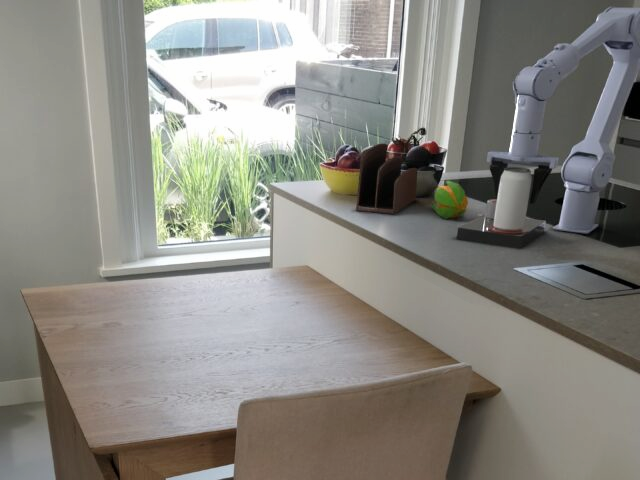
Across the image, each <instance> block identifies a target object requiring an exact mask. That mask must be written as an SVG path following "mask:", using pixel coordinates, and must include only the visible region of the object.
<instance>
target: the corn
mask: <svg viewBox="0 0 640 480" xmlns="http://www.w3.org/2000/svg"><path fill="white" fill-rule="evenodd" d="M445 183H446V184H447V185H440V186H439V187H437V189H436V191H435V193H434V201H436V204H437V205H436V204H435V203H433V201H430V204H431V207H432V208H433V210H434V211H435V212H436V213H437V215H439V216H440V217H441V218H443V219H445V220H446V219H449V218H454V219H457V218H459V217H461V216H463V215H464V214H465V213H466V212H467V207H468V206H469V201H468V197H467V195H466V194H465V193H466V191H465V190H464V189H463V187H462V186H461V185H460V184H459V183H457V182H455V181H451V180H446V181H445Z"/></svg>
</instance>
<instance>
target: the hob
mask: <svg viewBox="0 0 640 480" xmlns="http://www.w3.org/2000/svg"><path fill="white" fill-rule="evenodd" d="M476 216H478V217H476V218H474V219H472V220H470V221H467V222H466V223H464V224H462V225H460V226H458V227H457V232H456V240H460V241H467V242H474V243H480V244H487V245H493V246H499V247H506V248H514V249H520V248H522V247H523V246H525V245H526V244H528V243H530V242H531V241H532V240H534V239H535V238H537V237H539V236H540V235H542V234H543V233H545V228H546V225H547V224H546V223H547V221H546V220H542V219H535V218H528V217H527V218H526V217H525V223H524V226H525V227H527V228H529V232H527V233H522V234H504V233H497V232H493V231H490V230H488V229H487V226H488V225H491V224H494V219H490V218H486V217H485V213H484V214H479V213H477V214H476Z"/></svg>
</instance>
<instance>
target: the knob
mask: <svg viewBox="0 0 640 480" xmlns="http://www.w3.org/2000/svg"><path fill="white" fill-rule="evenodd" d="M496 204H497V199H495V198H494V199H488V200H487V201H486V206H485V213H484V214H485V217H486V218H490V219H494V217H495V210H496Z"/></svg>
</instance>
